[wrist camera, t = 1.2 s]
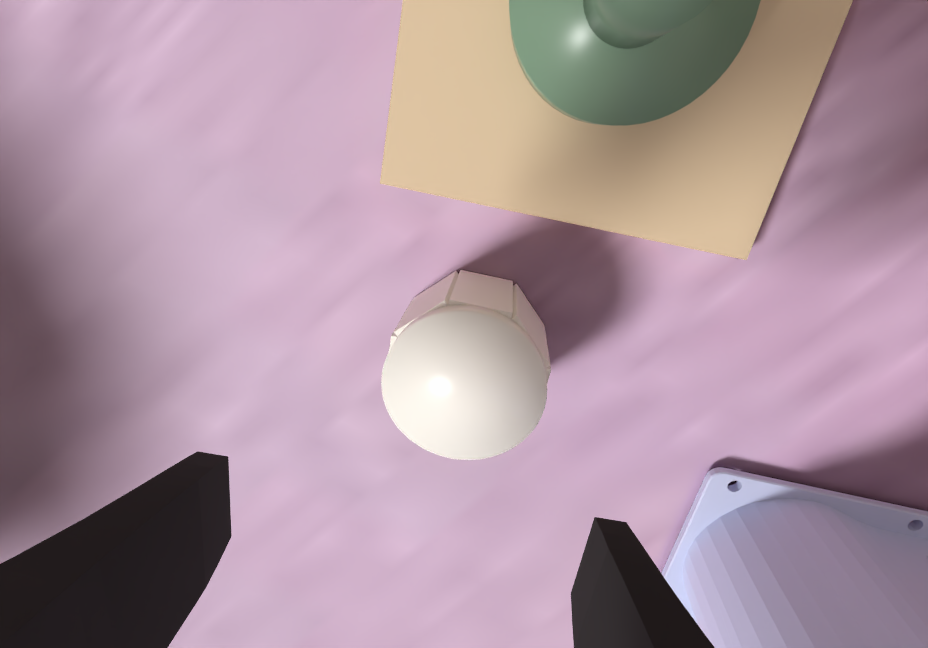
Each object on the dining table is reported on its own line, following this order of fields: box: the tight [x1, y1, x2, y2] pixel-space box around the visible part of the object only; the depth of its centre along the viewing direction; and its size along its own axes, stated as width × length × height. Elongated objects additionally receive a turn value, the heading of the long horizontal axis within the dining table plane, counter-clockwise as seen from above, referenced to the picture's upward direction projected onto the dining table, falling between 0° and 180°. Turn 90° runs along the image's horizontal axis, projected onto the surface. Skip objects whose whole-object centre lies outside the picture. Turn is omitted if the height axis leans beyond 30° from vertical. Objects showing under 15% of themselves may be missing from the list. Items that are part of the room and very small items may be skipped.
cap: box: [381, 270, 551, 460], centre depth 17 cm, size 5×5×4 cm
